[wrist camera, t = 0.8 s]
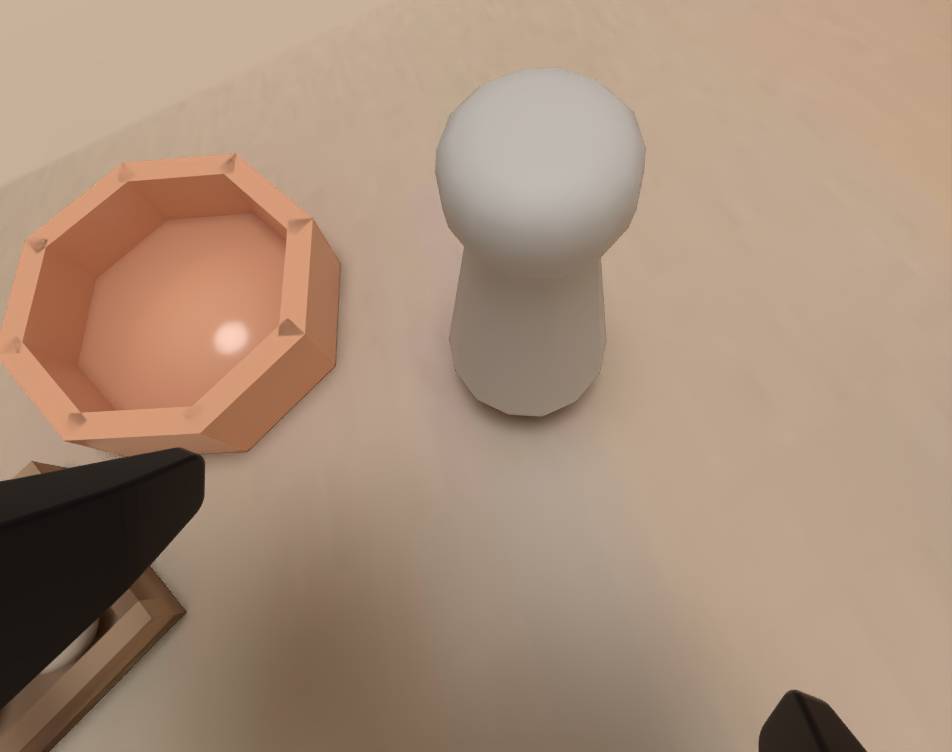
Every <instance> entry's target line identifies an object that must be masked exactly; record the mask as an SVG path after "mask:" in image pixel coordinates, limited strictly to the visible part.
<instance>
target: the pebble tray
mask: <svg viewBox="0 0 952 752" xmlns="http://www.w3.org/2000/svg"><path fill="white" fill-rule="evenodd" d="M62 469H67V468H65V467H60V466H54V465H49V464H44V463H38V462H33V461H31V462H30V463H29V464H28V465H27V466H26V467H25V468H24V469H23V470H21V471H20V472H19V473H18V474H17V475H16V476H15V477H14V478H12V479H16V478H21V477H26V476H31V475H36V474H41V473H47V472H52V471H57V470H62ZM185 613H186V611H185V610H184V609H183V608H182V606H181V605H180V604H179V602H178V601H177V600H176V599H175V597H174V596H173V595H172V594H171V592H170V591H169V590H168V589H167V587H166V586H165V585H164V584H163V582H162V581H161V580H160V578H159V577H158V576H157V575H156V573H155V572H154V571H153V570H152V568H151V567H150V566H149V567H148V568H147V570H146V571H145V572H144V573H143V574H142V575H141V576H140V577H139V579H138V580H137V581H136V582H135V583H134V584H133V585H132V586H131V587H130V588H129V589H128V590H127V591H126V592H125V593H124V594H123V595H122V596H121V597H120V598H119V599H118V600H117V601H116V602H115V603H114V604H113V605H112V606H111V607H110V608H109V609H108V610H107V611H105V612H104V613H103V614H102V615H101V616H100V621H99V627H98V631H97V633H96V636H95V638H94V640H93V641H92V643H91V645H90V646H89V647H88V648H87V650H86V651H85V652H84V653H83V654H82V655H81V656H80V657H79V658H77V659H76V660H75V661H73V662H72V663H71V664H69V665H67V666H65V667H63V668H61V669H59V670H57V671H54V672H51V673H47V674H40V675H38V676H37V677H36V678H35V679H34V680H32V681H31V682H30V683H29V684H28V685H27V686H26V687H25V688H24V689H23V690H22V691H21V692H20V693H19V694H18V695H17V696H16V697H14V698H13V699H12V700H11V701H10V702H9V703H8V704H7V705H6V706H5V707H4V708H3V709H2V710H1V711H0V752H49V751H50V750H51V749H52V748H53V747H54V746H55V745H56V744H57V743H58V742H59V741H60V740H61V739H62V738H63V737H64V736H65V735H66V734H67V733H68V732H69V731H70V730H71V729H72V728H73V727H74V726H75V725H76V724H77V723H78V722H79V721H80V720H81V718H82V717H83V716H84V715H85V714H86V713H87V712H88V711H89V710H90V709H91V708H92V707H93V706H94V705H95V704H96V703H97V702H98V701H99V700H100V699H101V698H102V697H103V696H104V695H105V694H106V693H107V692H108V691H109V690H110V689H111V688H112V687H113V686H114V685H115V684H116V683H117V682H118V681H119V680H120V679H121V678H122V677H123V676H124V675H125V674H126V673H127V672H128V671H129V670H130V669H131V668H132V667H133V666H134V665H135V663H136V662H137V661H138V660H139V659H140V658H141V657H142V656H143V655H144V654H145V653H146V652H147V651H148V650H149V649H150V648H151V647H152V646H153V645H154V644H155V643H156V642H157V641H158V640H159V639H160V638H161V637H162V636H163V635H164V634H165V633H166V632H167V631H168V630H169V629H170V628H171V627H172V626H173V625H174V624H175V623H176V622H177V621H178V620H179V619H180V618H181V617H182V616H183V615H184V614H185Z"/></svg>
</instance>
